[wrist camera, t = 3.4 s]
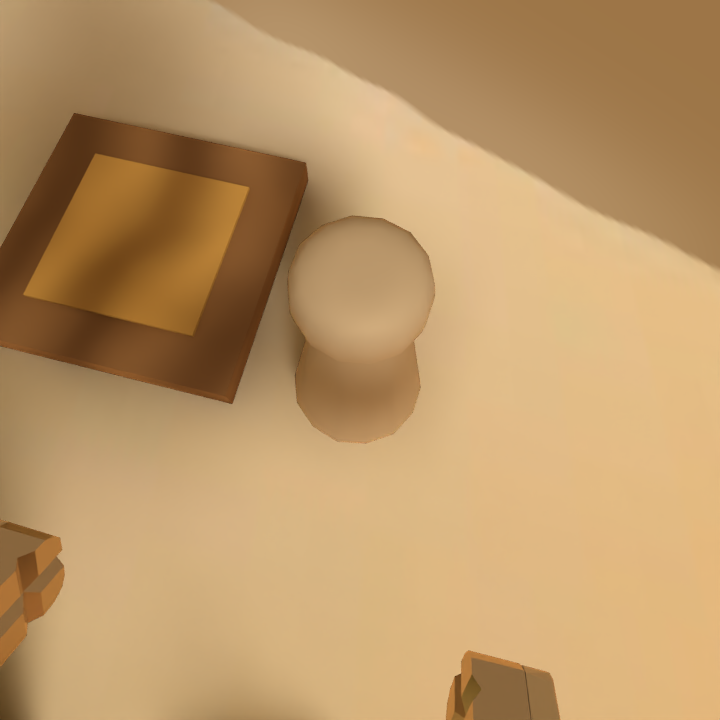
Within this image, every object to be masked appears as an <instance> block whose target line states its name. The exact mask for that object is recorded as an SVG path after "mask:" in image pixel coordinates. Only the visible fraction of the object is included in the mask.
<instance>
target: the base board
mask: <svg viewBox="0 0 720 720" xmlns="http://www.w3.org/2000/svg"><path fill="white" fill-rule="evenodd" d="M307 182H308V174H307V167H306V163H305V162H300V161H296V160H291V159H286V158H282V157H277V156H272V155H268V154H263V153H258V152H254V151H249V150H244V149H240V148H235V147H230V146H226V145H221V144H216V143H212V142H207V141H202V140H198V139H193V138H188V137H184V136H179V135H174V134H170V133H165V132H160V131H155V130H151V129H146V128H141V127H137V126H132V125H127V124H123V123H118V122H113V121H109V120H104V119H99V118H95V117H90V116H85V115H81V114H76V113H74V114H73V116H72V118H71V120H70V122H69V124H68V125H67V127H66V129H65V131H64V133H63V135H62V136H61V138H60V140H59V142H58V144H57V146H56V147H55V149H54V151H53V153H52V155H51V156H50V158H49V160H48V162H47V164H46V166H45V167H44V169H43V171H42V173H41V175H40V177H39V178H38V180H37V182H36V184H35V186H34V188H33V189H32V191H31V193H30V195H29V197H28V199H27V200H26V202H25V204H24V206H23V208H22V210H21V211H20V213H19V215H18V217H17V219H16V220H15V222H14V224H13V226H12V228H11V230H10V231H9V233H8V235H7V237H6V239H5V241H4V242H3V244H2V246H1V248H0V346H2V347H6V348H10V349H14V350H18V351H22V352H26V353H30V354H34V355H38V356H42V357H46V358H50V359H55V360H59V361H63V362H67V363H71V364H75V365H79V366H83V367H87V368H91V369H95V370H99V371H103V372H107V373H111V374H115V375H119V376H123V377H127V378H131V379H135V380H139V381H143V382H147V383H151V384H155V385H159V386H163V387H167V388H171V389H175V390H179V391H183V392H187V393H191V394H195V395H199V396H203V397H207V398H211V399H215V400H219V401H223V402H227V403H231V404H232V403H233V400H234V397H235V394H236V391H237V388H238V385H239V382H240V379H241V377H242V374H243V371H244V368H245V365H246V362H247V359H248V356H249V353H250V350H251V347H252V344H253V341H254V338H255V335H256V332H257V329H258V326H259V324H260V321H261V318H262V315H263V312H264V309H265V306H266V303H267V300H268V297H269V294H270V291H271V288H272V285H273V282H274V279H275V276H276V274H277V271H278V268H279V265H280V262H281V259H282V256H283V253H284V250H285V247H286V244H287V241H288V238H289V235H290V232H291V229H292V226H293V223H294V221H295V218H296V215H297V212H298V209H299V206H300V203H301V200H302V197H303V194H304V191H305V188H306V185H307Z"/></svg>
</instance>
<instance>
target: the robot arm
mask: <svg viewBox="0 0 720 720" xmlns="http://www.w3.org/2000/svg"><path fill="white" fill-rule="evenodd" d="M61 551H62V546H61V540H60V537H56V536H53V535H50V534H46V533H43V532H40V531H36V530H33V529H30V528H27V527H23V526H20V525H17V524H13V523H11V522H7V521H4V520H0V667H1V666H2V664H3V663H4V662H5V661H6V660H7V658H8V657H9V656H10V655H11V654H12V653H13V651H14V650H15V649H16V648H17V647H18V645H19V644H20V643H21V642H22V641H23V639H24V638H25V637H26V636H27V626H28V623H29V622H31V621H33V620H35V619H37V618H39V617H41V616H43V615H44V614H45V613H46V612H47V610H48V609H49V608H50V607H51V605H52V604H53V603H54V602H55V600H56V598H57V596H58V594H59V592H60V590H61V588H62V586H63V581H64V576H65V572H64V565H63V564H62V563H61V562H60V560H59V559H58V558H57V555H58V554H59V553H60V552H61ZM446 720H560V715H559V709H558V704H557V698H556V693H555V687H554V682H553V679H552V677H551V675H550V673H548V672H546V671H542V670H538V669H534V668H531V667H527V666H523V665H520V664H519V663H515V662H511V661H508V660H504V659H500V658H496V657H492V656H488V655H485V654H481V653H477V652H473V651H469V650H468V651H467V652H466V653H465V654H464V657H463V659H462V661H461V674H459V675H457V676H455V677H454V680H453V682H452V685H451V688H450V692H449V697H448V702H447V711H446Z"/></svg>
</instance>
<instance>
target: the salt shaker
mask: <svg viewBox="0 0 720 720" xmlns="http://www.w3.org/2000/svg"><path fill="white" fill-rule="evenodd" d="M287 285H288V297H289V308H290V314H291V316H292V318H293V320H294V322H295V323H296V325H297V326H298V327H299V329H300V330H301V332H302V333H303V335H304V336H305V338H306V340H305V344H304V347H303V350H302V354H301V357H300V360H299V364H298V367H297V370H296V374H295V382H296V396H297V403H298V405H299V406H300V408H301V409H302V411H303V412H304V414H305V415H306V417H307V418H308V420H309V421H310V423H311V424H312V426H314V427H315V428H317V429H318V430H320V431H321V432H323V433H325V434H326V435H328V436H329V437H331V438H332V439H334V440H335V441H338V442H351V443H365V444H366V443H369V442H372V441H375V440H377V439H380V438H383V437H386V436H389V435H392V434H394V433H395V432H396V430H397V429H398V428H399V427H400V426H401V425H402V424H403V423H404V422H405V421H406V420H407V419H408V417H409V416H410V415H411V414H412V413H413V410H414V407H415V404H416V400H417V397H418V394H419V391H420V388H421V386H420V379H419V372H418V366H417V359H416V352H415V345H414V340H415V339H416V338H417V337H418V336H419V335H420V333H421V332H422V331H423V329H424V327H425V325H426V322H427V319H428V316H429V313H430V310H431V307H432V304H433V301H434V298H435V283H434V279H433V274H432V269H431V265H430V260H429V256H428V255H427V253H426V252H425V251H424V249H423V248H422V247H421V245H420V244H419V243H418V242H417V240H416V239H415V238H414V236H413V235H412V234H411V232H409V231H407V230H405V229H403V228H401V227H399V226H397V225H395V224H393V223H391V222H389V221H387V220H385V219H382V218H372V217H361V216H349V217H346V218H343V219H340V220H337V221H334V222H330V223H327V224H324V225H322V226H321V227H320V228H318V229H317V230H316V231H315V232H314V233H312V234H311V235H310V236H309V237H308V238H307V239H305V240H304V241H303V242H302V243H301V244H299V247H298V249H297V252H296V254H295V257H294V259H293V262H292V264H291V267H290V269H289V271H288V280H287Z"/></svg>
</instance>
